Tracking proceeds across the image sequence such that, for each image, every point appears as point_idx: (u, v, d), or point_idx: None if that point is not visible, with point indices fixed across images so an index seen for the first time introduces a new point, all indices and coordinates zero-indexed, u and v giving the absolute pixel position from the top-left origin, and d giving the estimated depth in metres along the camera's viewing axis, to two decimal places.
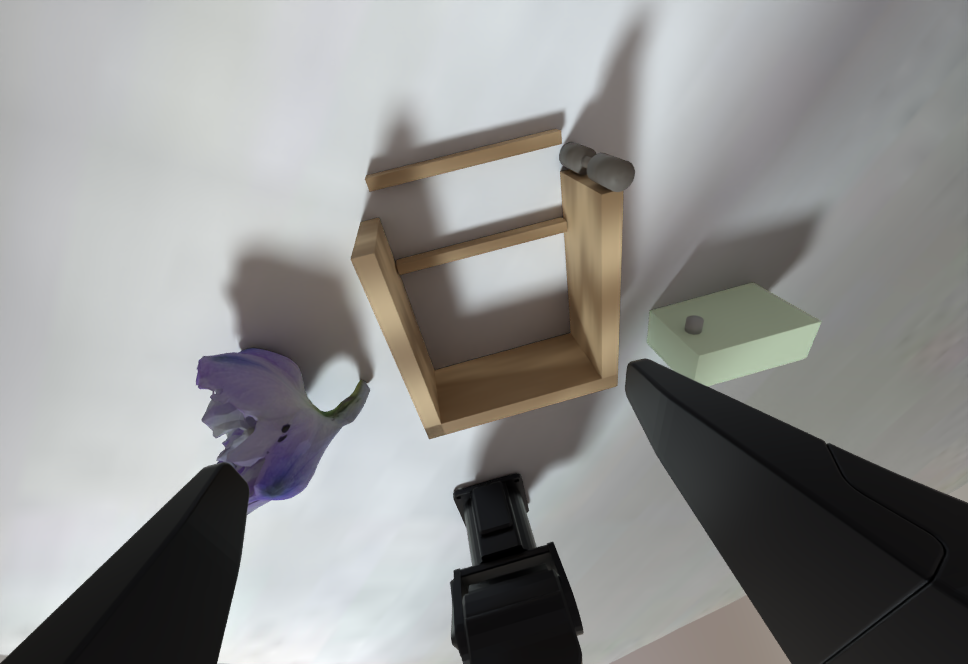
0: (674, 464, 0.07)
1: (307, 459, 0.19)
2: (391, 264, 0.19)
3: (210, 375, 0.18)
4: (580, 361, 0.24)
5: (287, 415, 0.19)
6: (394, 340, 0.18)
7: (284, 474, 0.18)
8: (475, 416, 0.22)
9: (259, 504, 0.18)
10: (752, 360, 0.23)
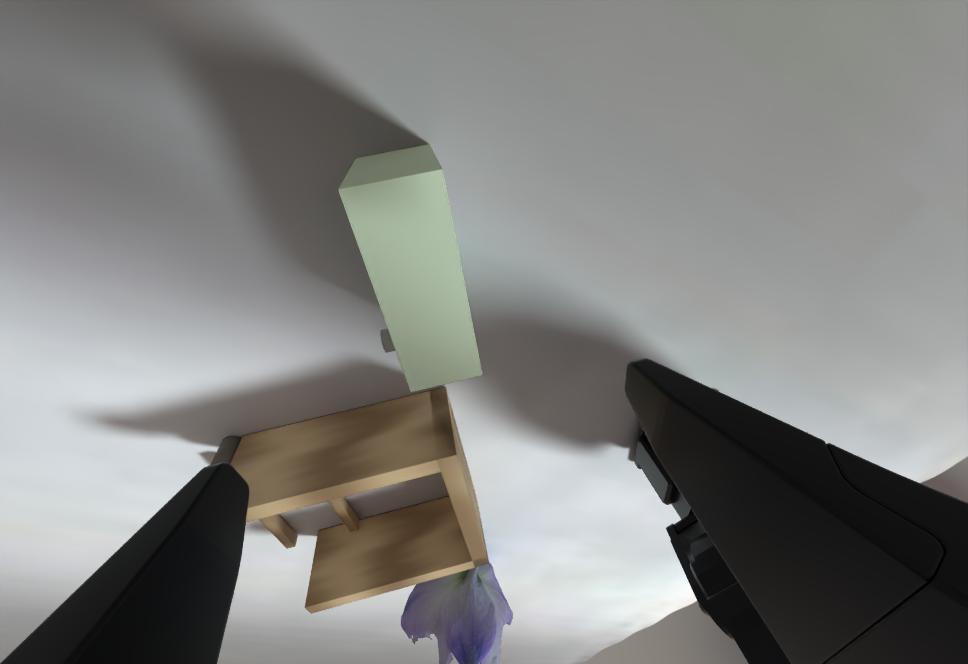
0: (674, 464, 0.07)
1: (469, 626, 0.27)
2: (343, 545, 0.27)
3: (405, 629, 0.29)
4: None
5: (438, 617, 0.28)
6: (376, 592, 0.24)
7: (463, 653, 0.26)
8: (469, 545, 0.23)
9: (485, 660, 0.27)
10: (431, 301, 0.13)
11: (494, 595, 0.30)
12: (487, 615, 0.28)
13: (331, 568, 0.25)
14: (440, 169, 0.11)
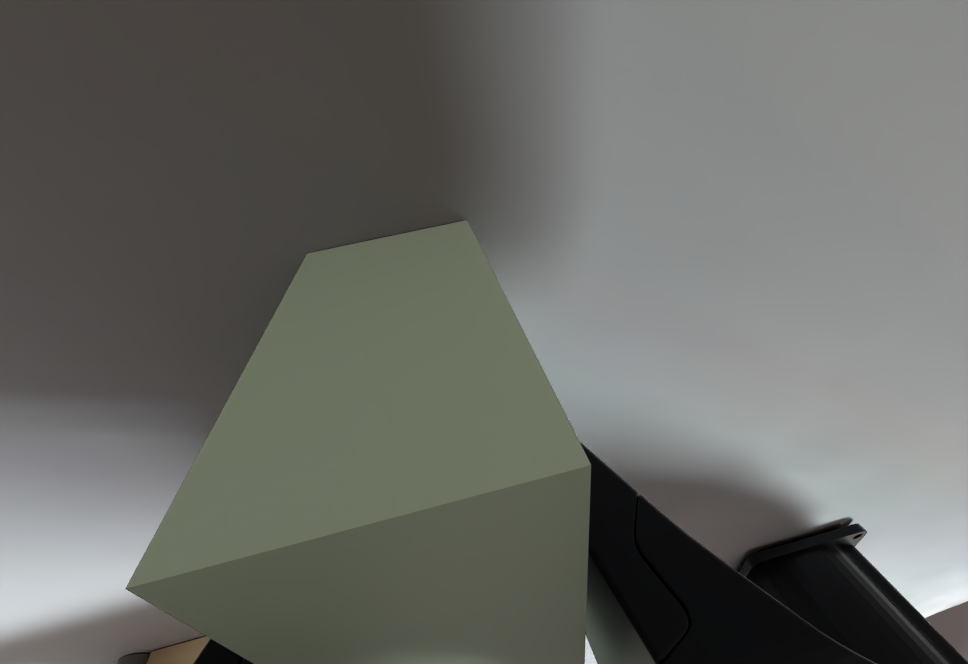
0: None
1: None
2: None
3: None
4: None
5: None
6: None
7: None
8: None
9: None
10: None
11: None
12: None
13: None
14: (580, 461, 0.03)
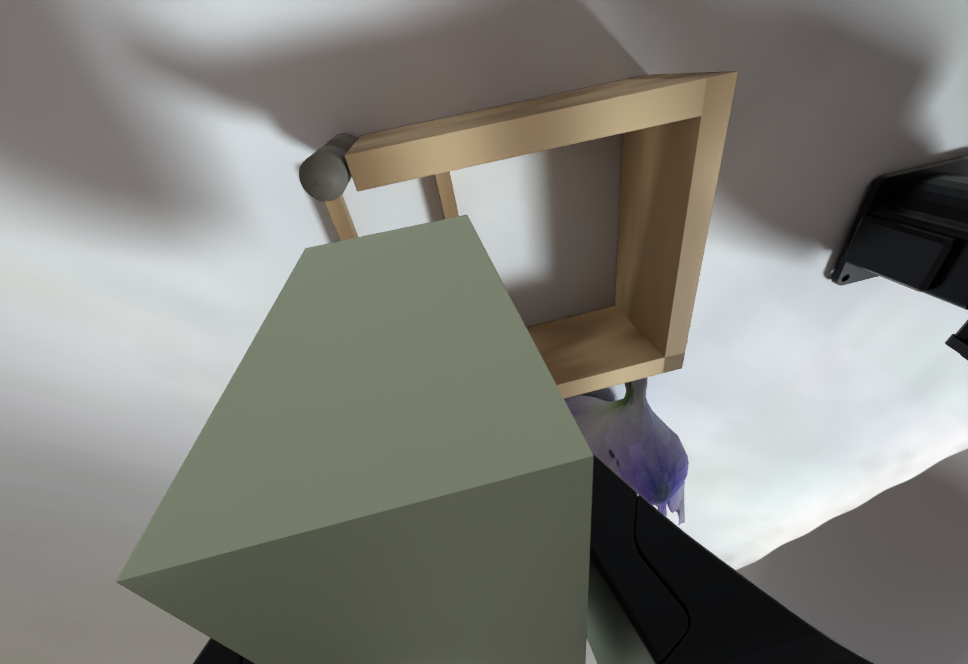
0: None
1: (653, 450, 0.19)
2: None
3: None
4: (664, 129, 0.14)
5: (601, 446, 0.20)
6: None
7: (651, 481, 0.18)
8: (673, 320, 0.16)
9: (675, 499, 0.19)
10: None
11: None
12: (672, 440, 0.20)
13: None
14: (582, 452, 0.02)
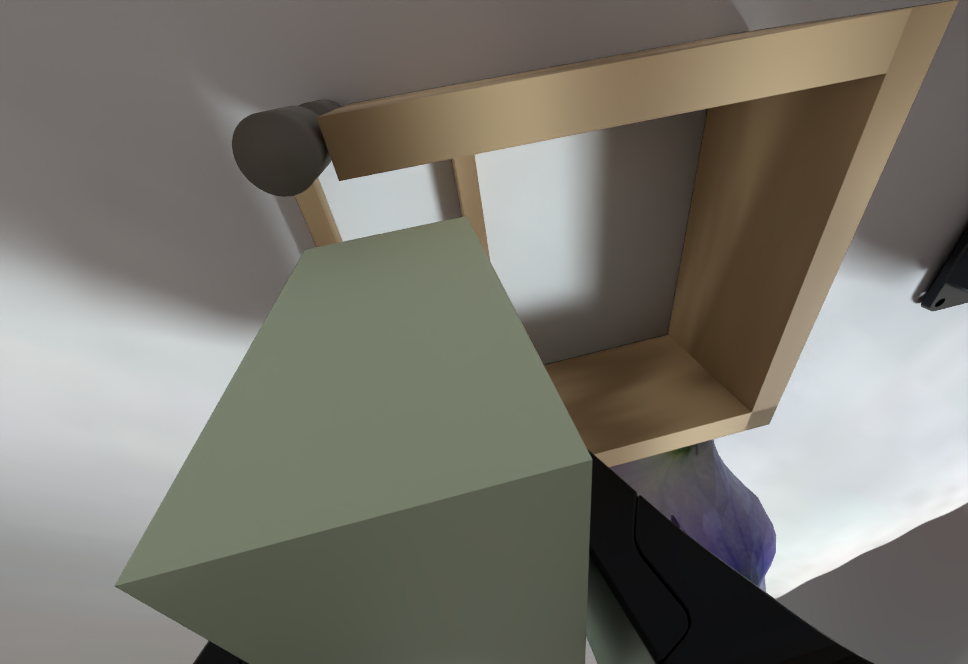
0: None
1: (732, 520, 0.15)
2: None
3: None
4: (793, 101, 0.09)
5: (660, 511, 0.15)
6: None
7: (734, 564, 0.14)
8: (773, 367, 0.12)
9: (759, 584, 0.15)
10: None
11: None
12: (753, 504, 0.15)
13: None
14: (581, 456, 0.02)
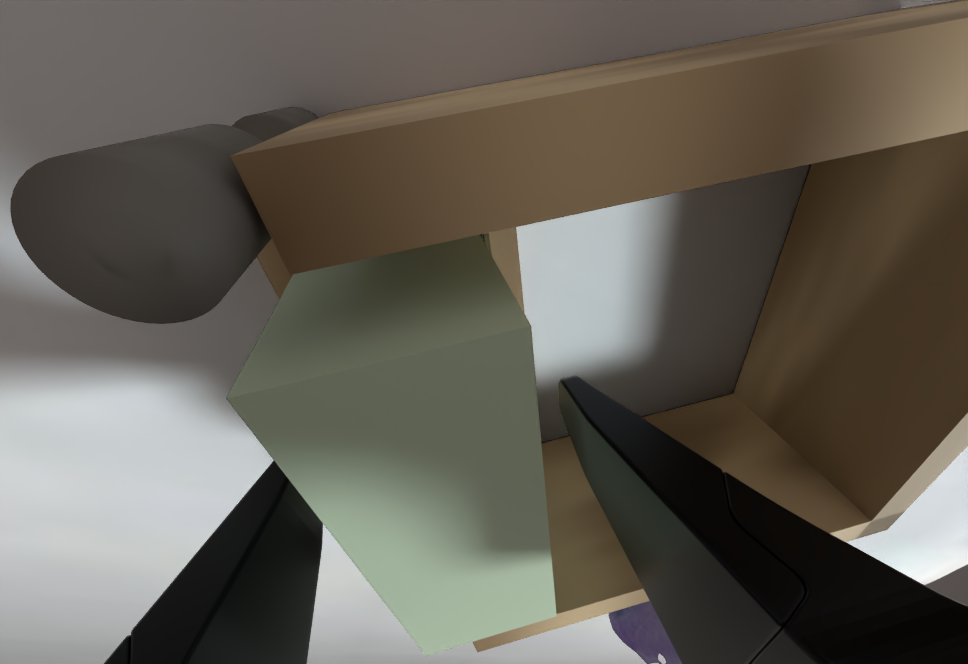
0: (597, 485, 0.07)
1: None
2: None
3: (636, 643, 0.14)
4: None
5: None
6: (638, 598, 0.10)
7: None
8: (918, 473, 0.09)
9: None
10: (475, 551, 0.06)
11: None
12: None
13: None
14: (524, 325, 0.04)
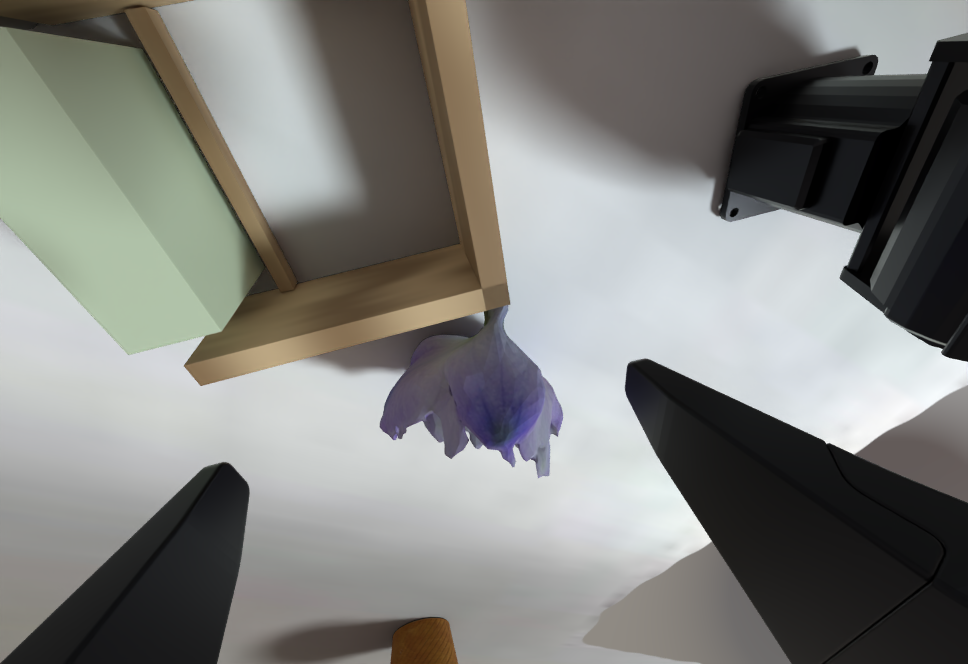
0: (674, 464, 0.07)
1: (497, 381, 0.15)
2: (267, 305, 0.16)
3: (387, 426, 0.17)
4: None
5: (441, 382, 0.16)
6: (316, 346, 0.14)
7: (488, 417, 0.14)
8: (476, 235, 0.13)
9: (527, 443, 0.15)
10: (93, 228, 0.10)
11: None
12: (527, 370, 0.16)
13: (241, 326, 0.15)
14: (4, 28, 0.08)
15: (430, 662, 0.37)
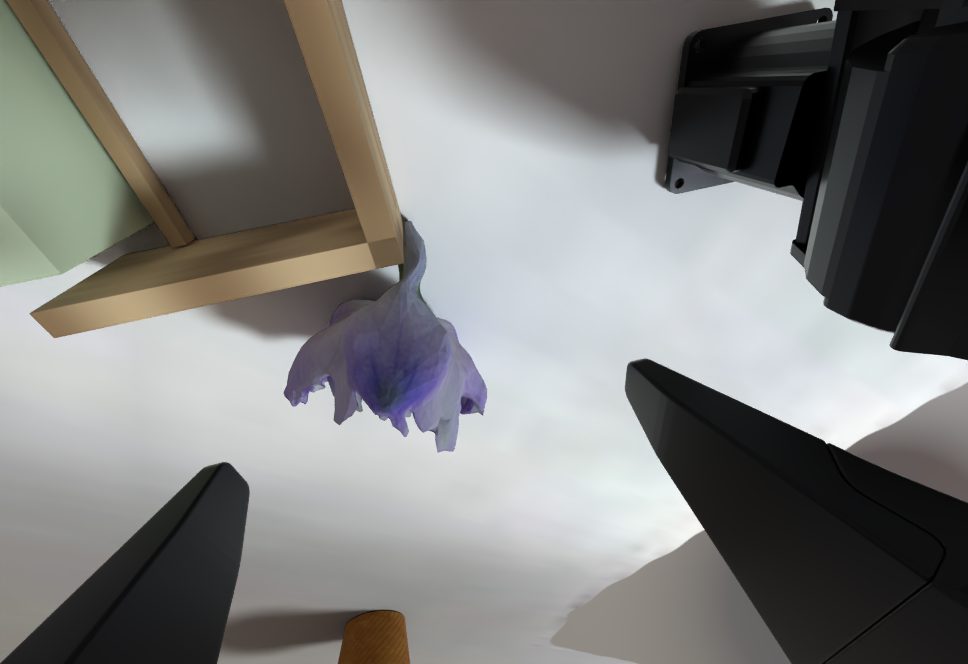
0: (674, 464, 0.07)
1: (393, 342, 0.14)
2: (152, 259, 0.15)
3: (287, 392, 0.16)
4: None
5: (338, 343, 0.14)
6: (182, 299, 0.13)
7: (375, 379, 0.13)
8: (350, 178, 0.12)
9: (424, 412, 0.14)
10: None
11: (452, 337, 0.17)
12: (431, 333, 0.14)
13: (113, 277, 0.14)
14: None
15: (377, 656, 0.36)
